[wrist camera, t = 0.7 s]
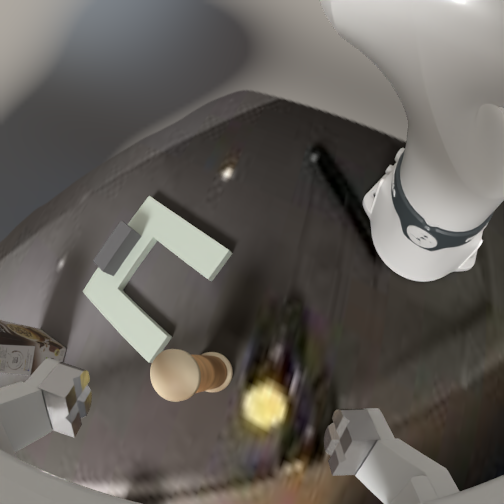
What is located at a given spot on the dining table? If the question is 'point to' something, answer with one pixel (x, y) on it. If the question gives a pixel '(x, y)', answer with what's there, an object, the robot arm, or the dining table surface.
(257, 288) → the dining table surface
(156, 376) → the bobbin
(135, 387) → the dining table surface
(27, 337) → the coffee box
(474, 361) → the dining table surface
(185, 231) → the notched board
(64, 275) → the dining table surface
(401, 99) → the robot arm
